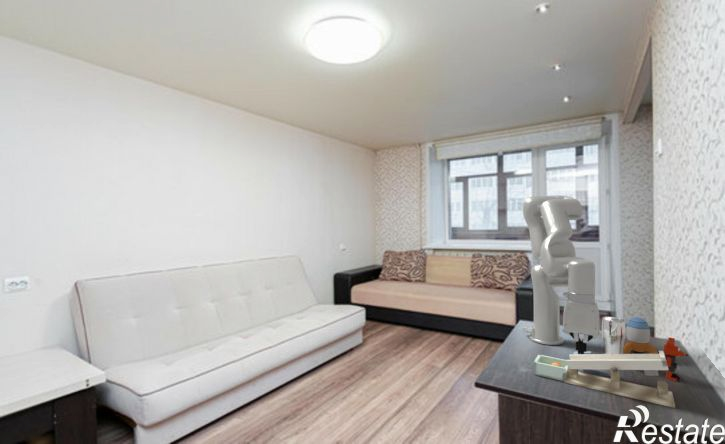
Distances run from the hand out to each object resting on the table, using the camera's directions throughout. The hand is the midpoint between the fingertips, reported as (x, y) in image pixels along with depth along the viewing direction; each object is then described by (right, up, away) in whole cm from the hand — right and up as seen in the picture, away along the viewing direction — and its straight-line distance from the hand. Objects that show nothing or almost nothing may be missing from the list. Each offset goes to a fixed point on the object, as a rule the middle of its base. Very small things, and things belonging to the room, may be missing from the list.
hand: (581, 353), depth 118 cm
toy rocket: (+29, -6, +11) cm, 31 cm away
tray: (-11, -6, -2) cm, 13 cm away
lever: (+6, -1, -9) cm, 11 cm away
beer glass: (+16, -6, +7) cm, 18 cm away
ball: (-10, -4, -3) cm, 11 cm away
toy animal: (+25, -6, -7) cm, 27 cm away
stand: (+3, -6, -12) cm, 14 cm away
